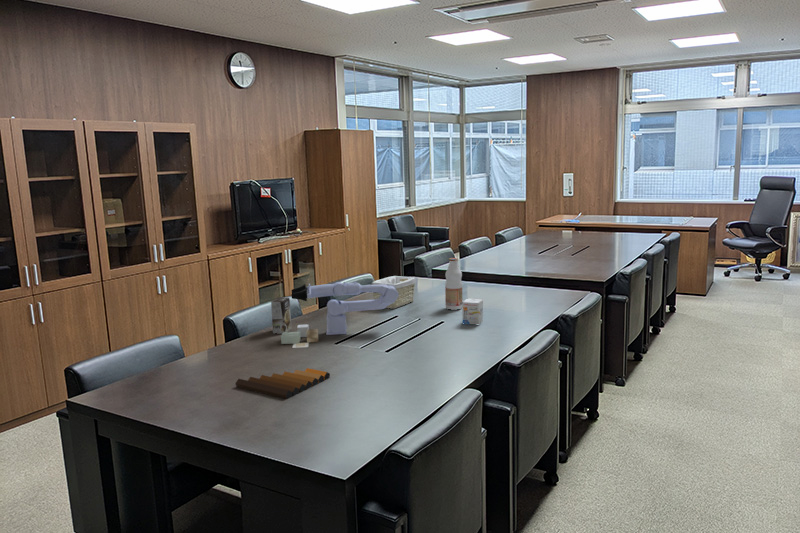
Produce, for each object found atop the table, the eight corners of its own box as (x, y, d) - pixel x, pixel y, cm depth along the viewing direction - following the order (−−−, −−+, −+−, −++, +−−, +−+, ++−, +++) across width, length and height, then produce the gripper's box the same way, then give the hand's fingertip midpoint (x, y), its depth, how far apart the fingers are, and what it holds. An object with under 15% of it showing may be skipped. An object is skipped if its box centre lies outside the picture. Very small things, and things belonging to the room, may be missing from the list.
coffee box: (284, 334, 300) (282, 301, 298) (272, 333, 302) (270, 301, 299) (291, 329, 309) (290, 297, 306) (279, 328, 310) (277, 297, 308)
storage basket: (393, 299, 370) (393, 274, 368) (417, 301, 362) (416, 276, 359) (371, 307, 350) (370, 281, 348) (395, 310, 342) (394, 284, 339)
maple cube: (318, 339, 291) (317, 328, 290) (317, 342, 286) (317, 331, 285) (307, 339, 290) (307, 329, 289) (307, 342, 285) (306, 332, 284)
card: (309, 343, 284) (309, 342, 284) (308, 347, 277) (308, 346, 277) (293, 343, 284) (293, 342, 284) (292, 348, 277) (292, 347, 277)
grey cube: (308, 334, 299) (308, 324, 298) (308, 337, 294) (307, 327, 293) (298, 334, 299) (297, 324, 298) (297, 337, 294) (297, 327, 293)
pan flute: (235, 388, 231) (286, 401, 217) (235, 380, 230) (285, 391, 217) (281, 368, 251) (330, 379, 238) (281, 360, 251) (329, 370, 238)
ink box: (462, 324, 309) (461, 301, 307) (466, 320, 317) (466, 298, 315) (478, 325, 306) (478, 302, 304) (483, 321, 314) (483, 299, 312)
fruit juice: (448, 311, 337) (447, 260, 333) (443, 307, 346) (442, 257, 342) (464, 309, 339) (464, 259, 335) (459, 305, 348) (459, 256, 344)
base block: (300, 339, 291) (300, 331, 291) (299, 343, 283) (298, 335, 283) (283, 339, 291) (282, 332, 290) (281, 344, 283) (281, 336, 282)
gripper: (318, 279, 302) (290, 282, 300) (319, 286, 288) (290, 290, 286) (320, 293, 304) (292, 296, 302) (321, 301, 290) (292, 304, 288)
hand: (291, 294), depth 294 cm, fingers open, 7 cm apart
